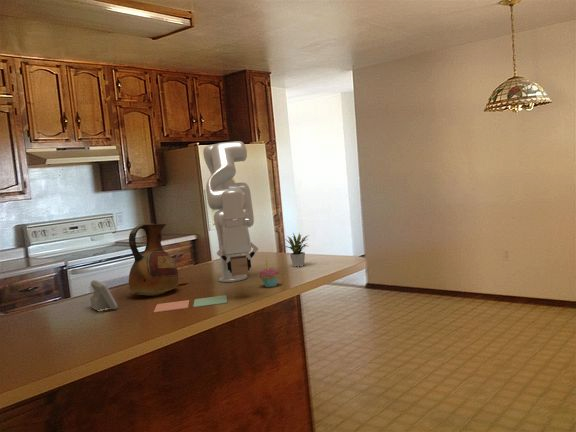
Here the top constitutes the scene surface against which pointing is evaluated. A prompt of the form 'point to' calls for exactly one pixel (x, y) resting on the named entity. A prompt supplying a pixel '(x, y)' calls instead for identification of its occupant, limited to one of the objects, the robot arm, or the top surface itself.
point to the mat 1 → (171, 306)
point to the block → (239, 265)
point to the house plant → (297, 250)
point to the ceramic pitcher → (151, 264)
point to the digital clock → (102, 296)
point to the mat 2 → (210, 301)
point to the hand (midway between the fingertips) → (239, 270)
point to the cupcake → (269, 276)
